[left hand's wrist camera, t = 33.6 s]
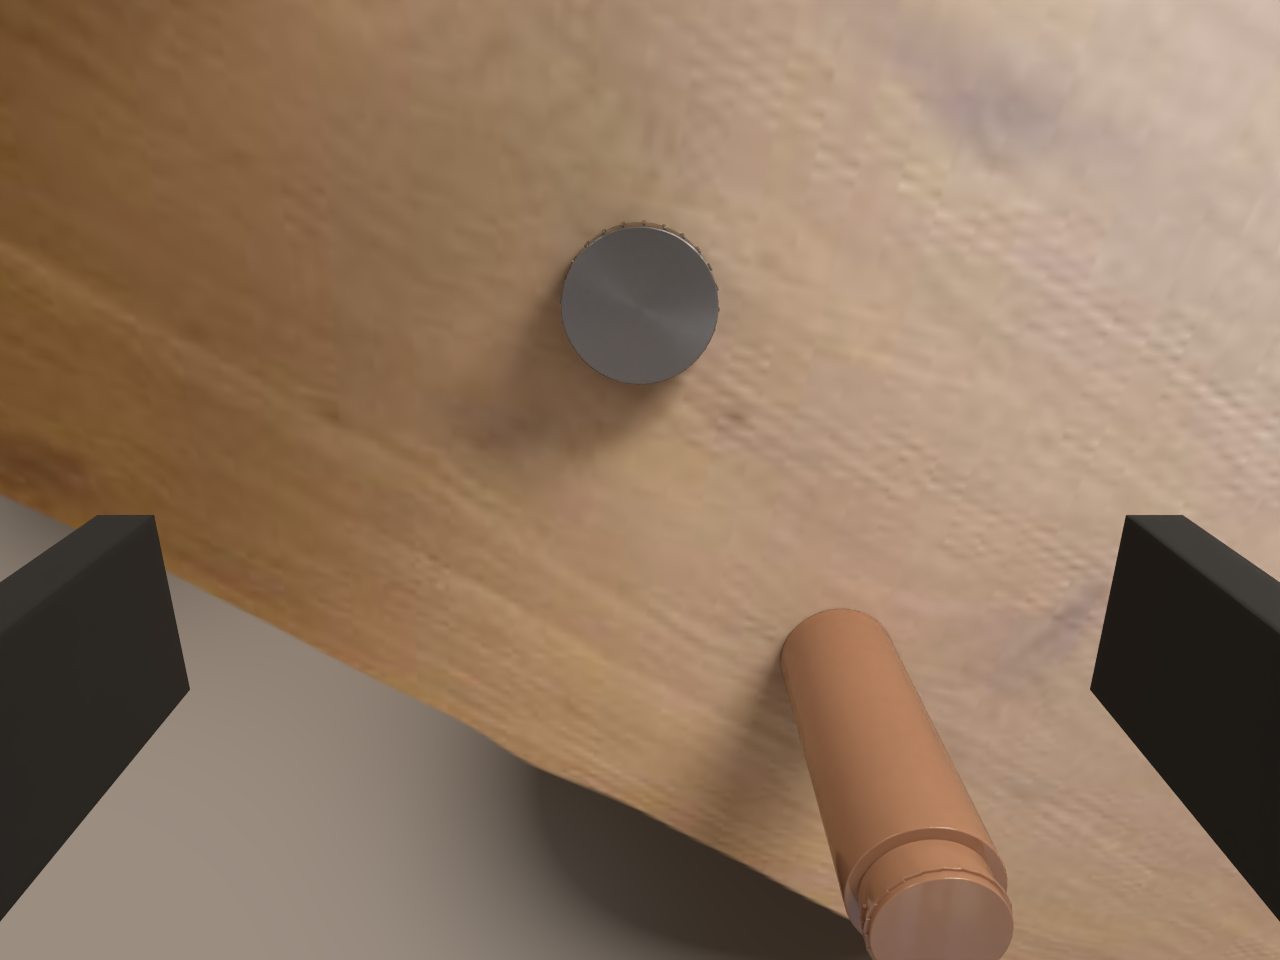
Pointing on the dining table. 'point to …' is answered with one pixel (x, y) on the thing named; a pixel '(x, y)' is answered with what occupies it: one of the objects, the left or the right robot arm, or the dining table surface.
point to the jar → (892, 799)
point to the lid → (639, 303)
